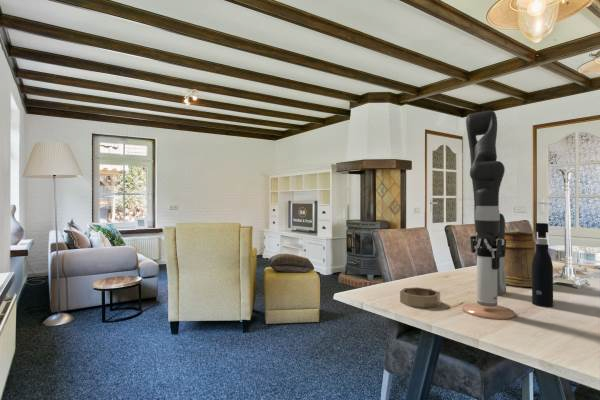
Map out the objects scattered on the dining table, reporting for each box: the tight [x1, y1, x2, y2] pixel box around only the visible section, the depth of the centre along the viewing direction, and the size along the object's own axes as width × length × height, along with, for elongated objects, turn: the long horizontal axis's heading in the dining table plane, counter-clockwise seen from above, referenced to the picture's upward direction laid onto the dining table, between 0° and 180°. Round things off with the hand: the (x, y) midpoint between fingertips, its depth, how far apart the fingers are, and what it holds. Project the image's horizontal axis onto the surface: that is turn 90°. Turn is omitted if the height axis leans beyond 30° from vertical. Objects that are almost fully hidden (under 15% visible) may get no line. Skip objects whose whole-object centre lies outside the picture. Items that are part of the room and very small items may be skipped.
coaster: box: [461, 302, 516, 321], centre depth 122 cm, size 16×16×1 cm
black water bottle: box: [531, 222, 554, 308], centre depth 131 cm, size 6×6×30 cm
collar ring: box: [399, 287, 441, 309], centre depth 134 cm, size 13×13×4 cm
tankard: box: [504, 227, 536, 288], centre depth 167 cm, size 18×24×25 cm
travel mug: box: [476, 248, 498, 307], centre depth 122 cm, size 6×7×20 cm
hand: (487, 267), depth 122 cm, fingers closed on travel mug, 6 cm apart
